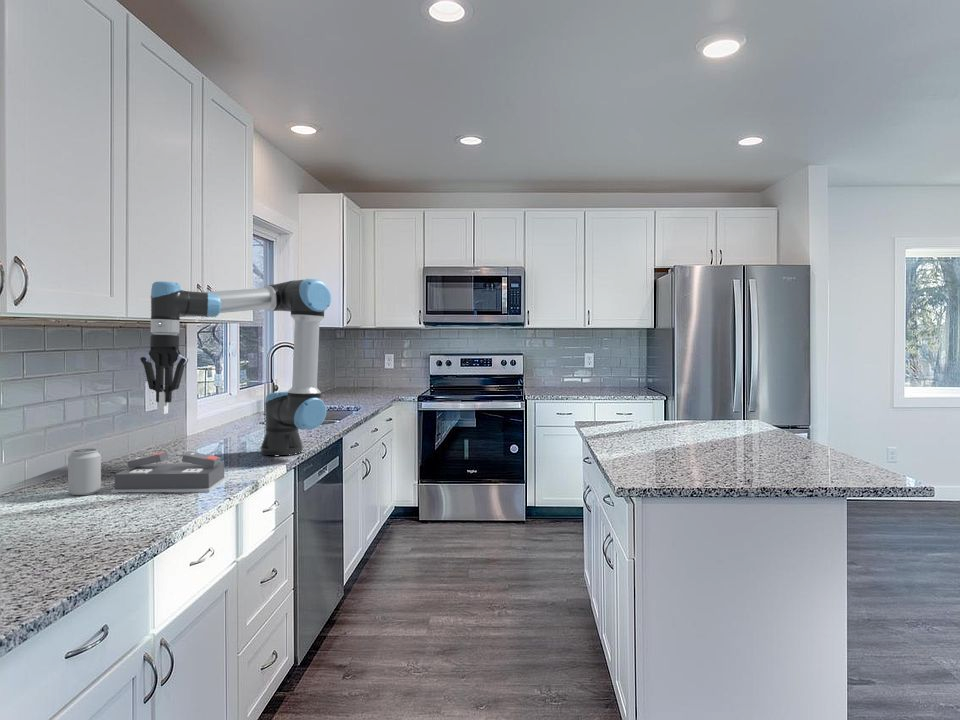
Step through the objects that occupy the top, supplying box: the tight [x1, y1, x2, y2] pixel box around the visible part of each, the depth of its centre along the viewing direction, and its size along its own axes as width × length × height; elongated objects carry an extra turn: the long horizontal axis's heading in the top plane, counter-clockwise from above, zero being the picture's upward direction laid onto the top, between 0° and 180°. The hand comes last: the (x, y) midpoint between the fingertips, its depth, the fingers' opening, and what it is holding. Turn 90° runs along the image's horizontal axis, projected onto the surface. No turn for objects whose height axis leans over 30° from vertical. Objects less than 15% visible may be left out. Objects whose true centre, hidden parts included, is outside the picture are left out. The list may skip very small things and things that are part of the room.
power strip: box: [110, 463, 228, 494], centre depth 167 cm, size 15×26×5 cm, turn 96°
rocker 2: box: [181, 451, 221, 468], centre depth 170 cm, size 5×9×2 cm, turn 96°
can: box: [67, 448, 102, 496], centre depth 158 cm, size 8×8×12 cm
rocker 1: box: [126, 451, 169, 468], centre depth 168 cm, size 5×9×2 cm, turn 96°
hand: (163, 413), depth 171 cm, fingers closed
